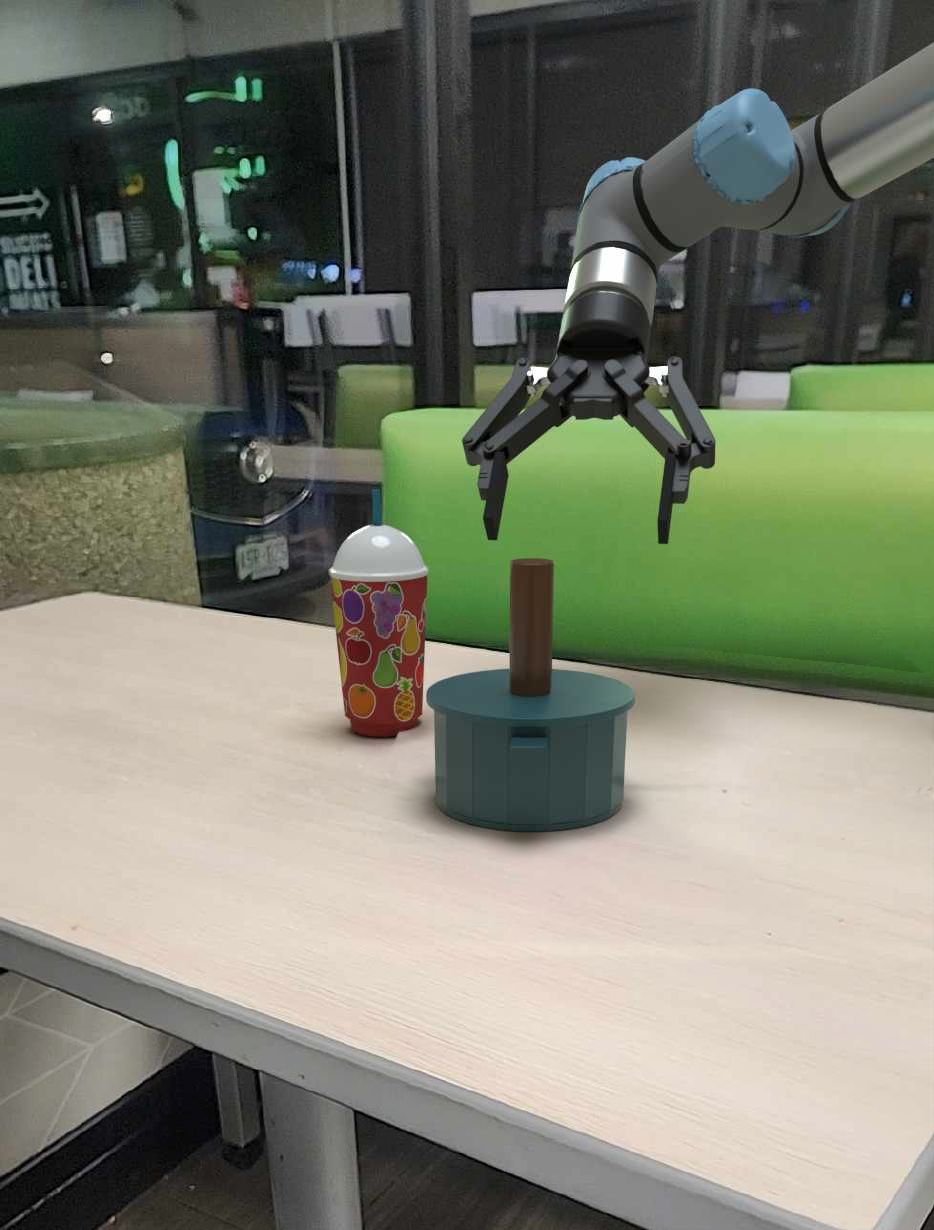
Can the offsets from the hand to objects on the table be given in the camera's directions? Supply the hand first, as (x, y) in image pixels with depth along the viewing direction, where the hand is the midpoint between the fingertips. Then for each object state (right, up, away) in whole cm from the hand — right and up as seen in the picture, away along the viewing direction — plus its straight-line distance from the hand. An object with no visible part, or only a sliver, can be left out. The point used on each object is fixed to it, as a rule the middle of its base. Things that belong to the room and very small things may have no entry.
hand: (575, 531), depth 99 cm
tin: (-4, -22, -6) cm, 23 cm away
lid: (-4, -15, -9) cm, 17 cm away
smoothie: (-16, -14, +12) cm, 24 cm away
